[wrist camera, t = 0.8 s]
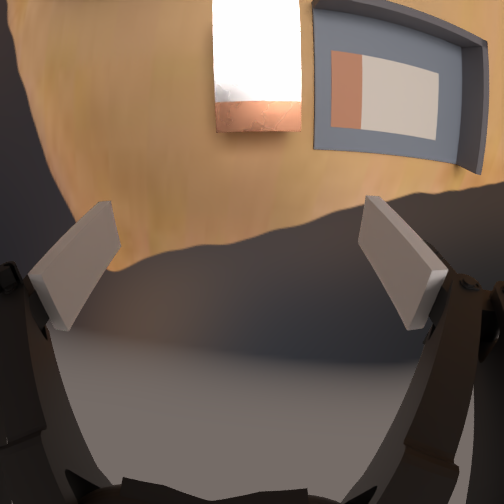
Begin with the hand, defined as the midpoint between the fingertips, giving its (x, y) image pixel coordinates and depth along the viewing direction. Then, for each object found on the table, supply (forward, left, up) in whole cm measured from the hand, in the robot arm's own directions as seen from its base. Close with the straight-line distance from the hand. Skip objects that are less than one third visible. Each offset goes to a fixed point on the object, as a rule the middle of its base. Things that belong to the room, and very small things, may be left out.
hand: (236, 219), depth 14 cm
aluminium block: (-10, +2, -23) cm, 25 cm away
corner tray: (-10, +21, -23) cm, 32 cm away
